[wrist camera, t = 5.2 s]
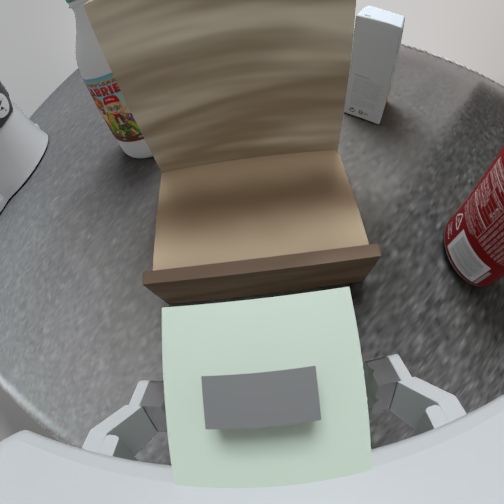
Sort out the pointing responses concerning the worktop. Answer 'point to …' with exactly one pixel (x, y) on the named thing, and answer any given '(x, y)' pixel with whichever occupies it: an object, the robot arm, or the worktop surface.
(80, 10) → the milk bottle
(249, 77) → the board
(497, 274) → the soda can
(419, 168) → the worktop surface
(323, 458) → the mint juice carton
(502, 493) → the robot arm
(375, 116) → the skincare box
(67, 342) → the worktop surface
